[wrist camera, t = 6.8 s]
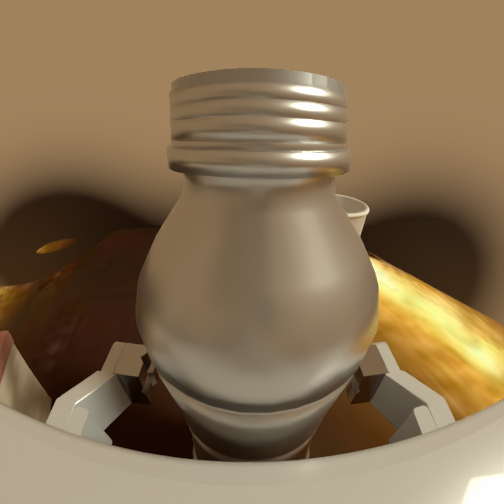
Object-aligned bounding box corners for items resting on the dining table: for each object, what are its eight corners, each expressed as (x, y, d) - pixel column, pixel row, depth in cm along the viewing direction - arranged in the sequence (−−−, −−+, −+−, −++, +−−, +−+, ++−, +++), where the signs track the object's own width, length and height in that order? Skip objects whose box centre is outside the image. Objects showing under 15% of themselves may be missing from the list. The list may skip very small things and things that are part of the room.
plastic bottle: (200, 432, 17) (146, 100, 8) (294, 428, 17) (348, 102, 8) (198, 511, 11) (12, 92, 2) (308, 505, 12) (497, 108, 2)
